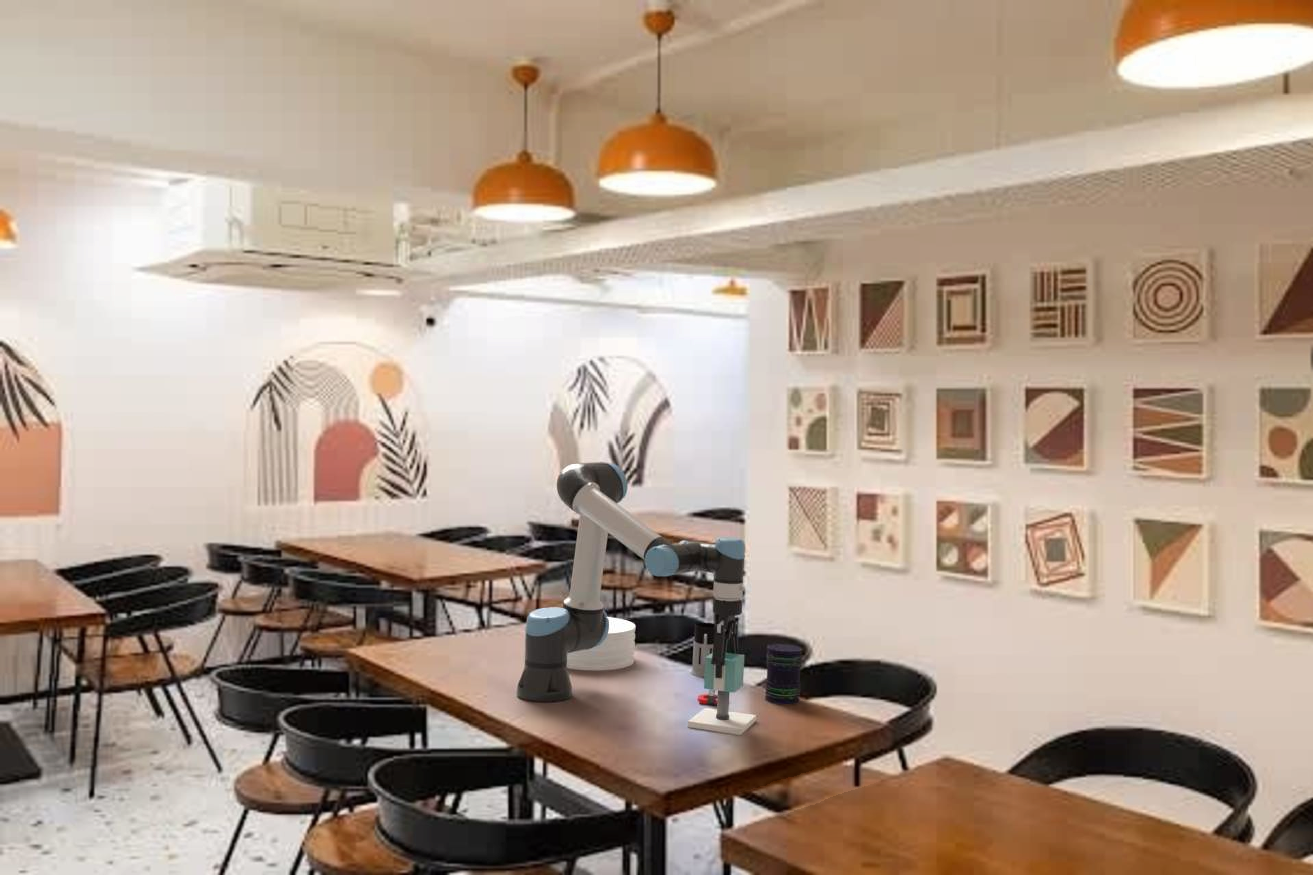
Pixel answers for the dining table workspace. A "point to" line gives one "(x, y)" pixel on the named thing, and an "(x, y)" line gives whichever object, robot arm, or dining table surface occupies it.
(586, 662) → the plate stack
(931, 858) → the dining table surface
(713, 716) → the post stand
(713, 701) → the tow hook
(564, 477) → the robot arm
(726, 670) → the sleeve
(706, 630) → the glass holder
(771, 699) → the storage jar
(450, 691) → the dining table surface
